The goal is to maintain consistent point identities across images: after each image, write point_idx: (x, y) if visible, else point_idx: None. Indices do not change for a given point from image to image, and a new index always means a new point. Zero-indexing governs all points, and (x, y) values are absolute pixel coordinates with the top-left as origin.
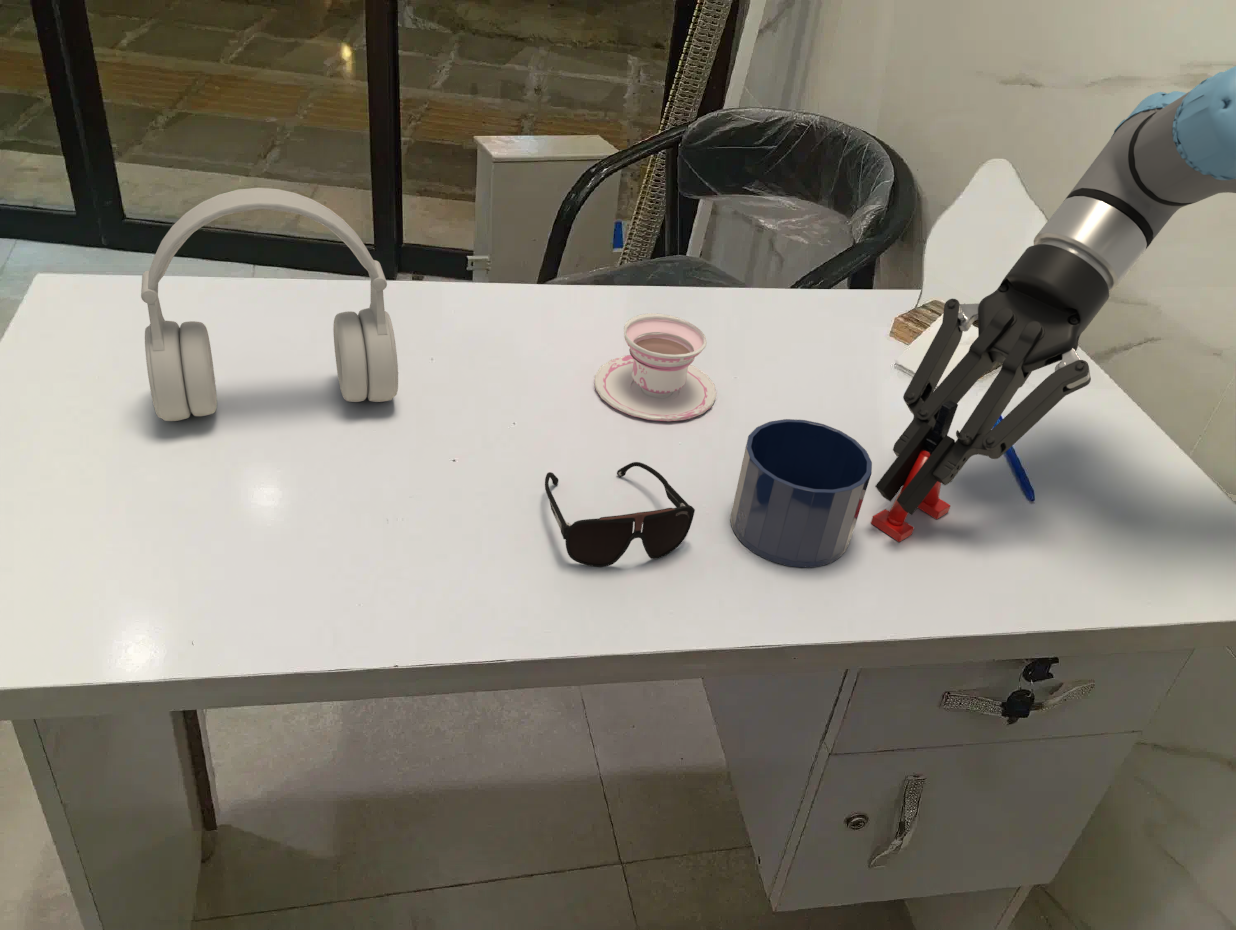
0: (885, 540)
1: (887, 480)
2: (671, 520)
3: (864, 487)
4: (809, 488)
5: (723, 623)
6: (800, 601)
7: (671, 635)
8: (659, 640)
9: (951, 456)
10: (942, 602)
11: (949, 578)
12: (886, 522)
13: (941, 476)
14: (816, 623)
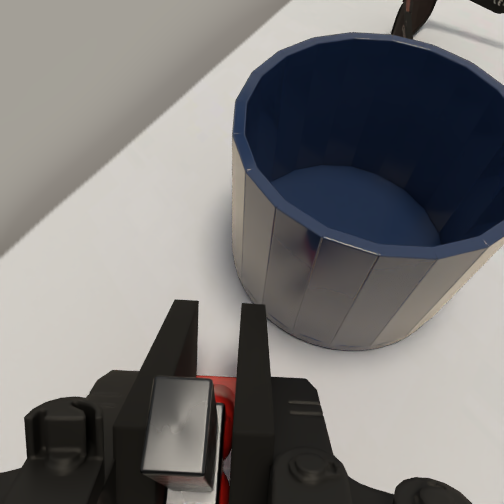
0: (205, 363)
1: (248, 314)
2: (399, 27)
3: (236, 162)
4: (292, 50)
5: (251, 68)
6: (212, 146)
7: (274, 30)
8: (276, 20)
9: (108, 417)
10: (39, 298)
11: (51, 368)
12: (226, 384)
13: (116, 372)
14: (172, 132)
